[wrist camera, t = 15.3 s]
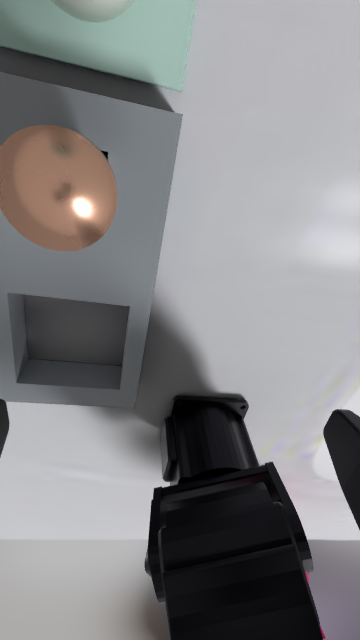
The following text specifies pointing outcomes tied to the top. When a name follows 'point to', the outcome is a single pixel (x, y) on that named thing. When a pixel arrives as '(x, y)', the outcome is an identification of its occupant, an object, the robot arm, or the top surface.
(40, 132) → the plunger
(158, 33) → the mat
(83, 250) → the housing
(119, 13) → the cylinder
